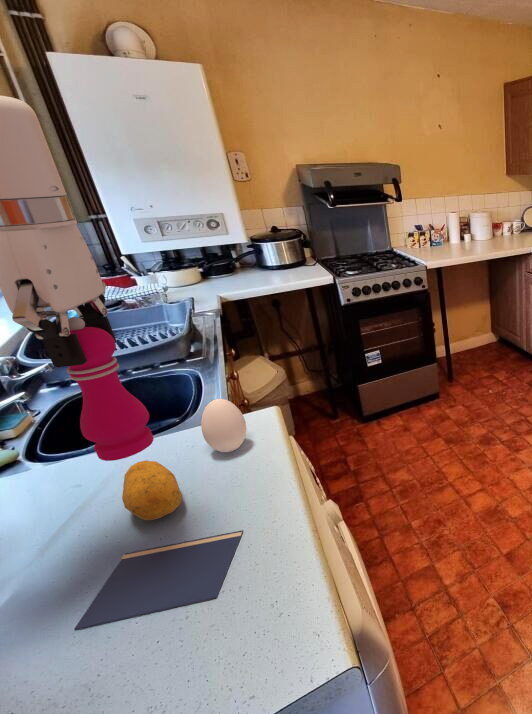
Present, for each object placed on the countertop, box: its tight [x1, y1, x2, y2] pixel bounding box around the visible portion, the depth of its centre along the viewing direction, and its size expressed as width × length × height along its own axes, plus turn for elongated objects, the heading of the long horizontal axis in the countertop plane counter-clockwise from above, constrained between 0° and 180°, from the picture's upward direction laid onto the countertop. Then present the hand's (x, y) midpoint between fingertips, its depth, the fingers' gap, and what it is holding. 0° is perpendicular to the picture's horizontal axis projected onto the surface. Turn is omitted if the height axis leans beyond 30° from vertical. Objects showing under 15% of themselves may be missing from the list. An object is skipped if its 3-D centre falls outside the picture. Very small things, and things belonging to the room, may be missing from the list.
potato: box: [121, 460, 183, 521], centre depth 74 cm, size 7×14×7 cm, turn 45°
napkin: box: [73, 529, 244, 631], centre depth 62 cm, size 16×12×1 cm
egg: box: [200, 398, 248, 453], centre depth 88 cm, size 7×7×12 cm
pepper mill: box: [66, 316, 154, 462], centre depth 59 cm, size 7×7×20 cm
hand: (87, 353), depth 58 cm, fingers closed on pepper mill, 6 cm apart
